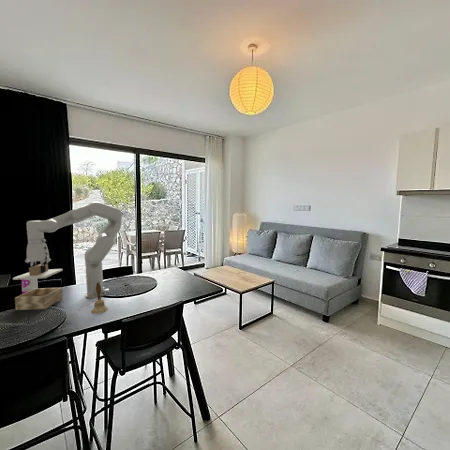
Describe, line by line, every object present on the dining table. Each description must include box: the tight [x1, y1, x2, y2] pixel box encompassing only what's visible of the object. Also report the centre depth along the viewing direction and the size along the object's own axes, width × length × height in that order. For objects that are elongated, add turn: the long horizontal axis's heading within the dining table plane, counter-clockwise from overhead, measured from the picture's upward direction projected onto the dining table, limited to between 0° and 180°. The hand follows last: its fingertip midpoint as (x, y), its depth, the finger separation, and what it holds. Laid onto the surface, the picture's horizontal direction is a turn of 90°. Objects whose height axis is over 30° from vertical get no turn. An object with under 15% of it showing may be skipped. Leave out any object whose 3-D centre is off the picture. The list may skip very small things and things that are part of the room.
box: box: [14, 287, 63, 311], centre depth 148 cm, size 16×16×8 cm
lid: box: [12, 263, 64, 281], centre depth 147 cm, size 17×17×6 cm
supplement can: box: [20, 279, 39, 295], centre depth 162 cm, size 8×8×15 cm
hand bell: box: [90, 282, 109, 315], centre depth 139 cm, size 8×8×16 cm
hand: (39, 272), depth 147 cm, fingers closed on lid, 4 cm apart
